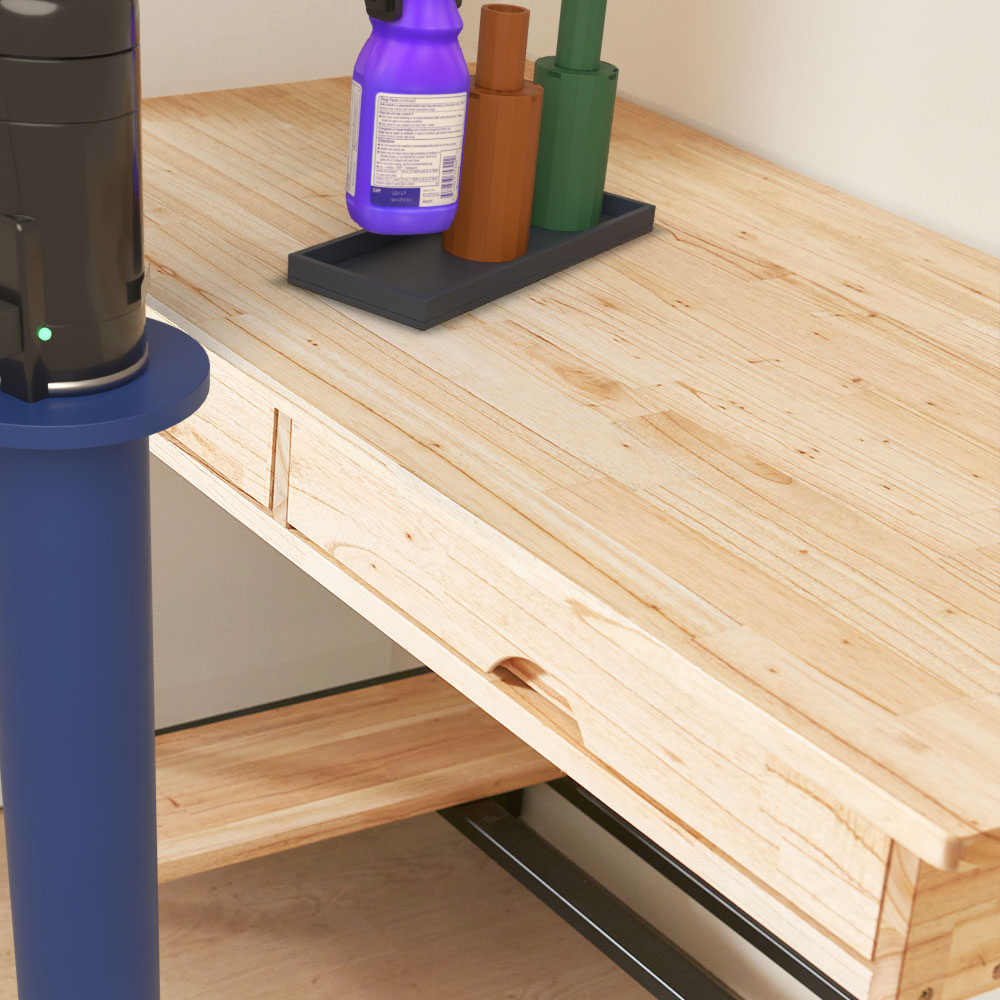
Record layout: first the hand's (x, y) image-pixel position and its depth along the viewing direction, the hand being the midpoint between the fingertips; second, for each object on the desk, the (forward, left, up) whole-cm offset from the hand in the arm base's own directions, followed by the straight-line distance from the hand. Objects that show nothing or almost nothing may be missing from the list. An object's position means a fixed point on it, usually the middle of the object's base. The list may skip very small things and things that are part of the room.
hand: (414, 11), depth 93 cm
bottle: (0, 0, -14) cm, 14 cm away
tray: (+10, 0, -18) cm, 21 cm away
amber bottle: (+10, 0, -18) cm, 21 cm away
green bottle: (+20, 0, -18) cm, 27 cm away
